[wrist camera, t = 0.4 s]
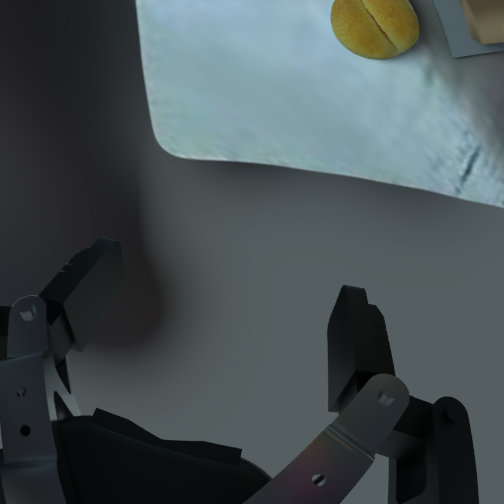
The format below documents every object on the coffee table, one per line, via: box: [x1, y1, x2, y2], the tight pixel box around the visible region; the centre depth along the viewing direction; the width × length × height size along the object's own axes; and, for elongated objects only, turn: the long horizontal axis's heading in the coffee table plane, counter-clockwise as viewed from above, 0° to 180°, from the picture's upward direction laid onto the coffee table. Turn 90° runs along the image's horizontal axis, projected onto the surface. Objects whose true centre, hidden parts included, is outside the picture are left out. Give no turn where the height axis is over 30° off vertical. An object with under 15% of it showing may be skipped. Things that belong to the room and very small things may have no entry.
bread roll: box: [331, 0, 420, 60], centre depth 23 cm, size 8×9×4 cm
